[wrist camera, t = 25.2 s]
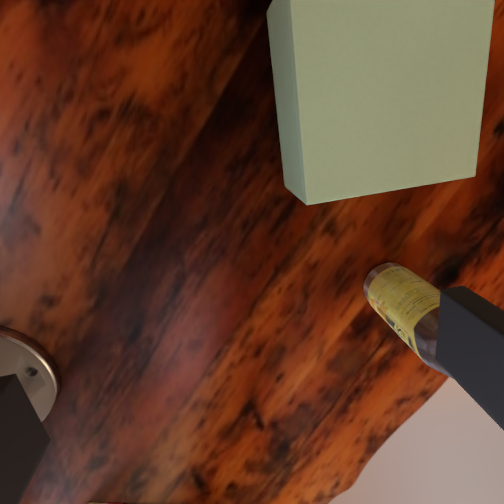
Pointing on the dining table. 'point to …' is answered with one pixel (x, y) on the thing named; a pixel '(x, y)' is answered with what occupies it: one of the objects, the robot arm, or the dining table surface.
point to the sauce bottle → (407, 308)
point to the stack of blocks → (102, 503)
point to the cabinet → (377, 92)
